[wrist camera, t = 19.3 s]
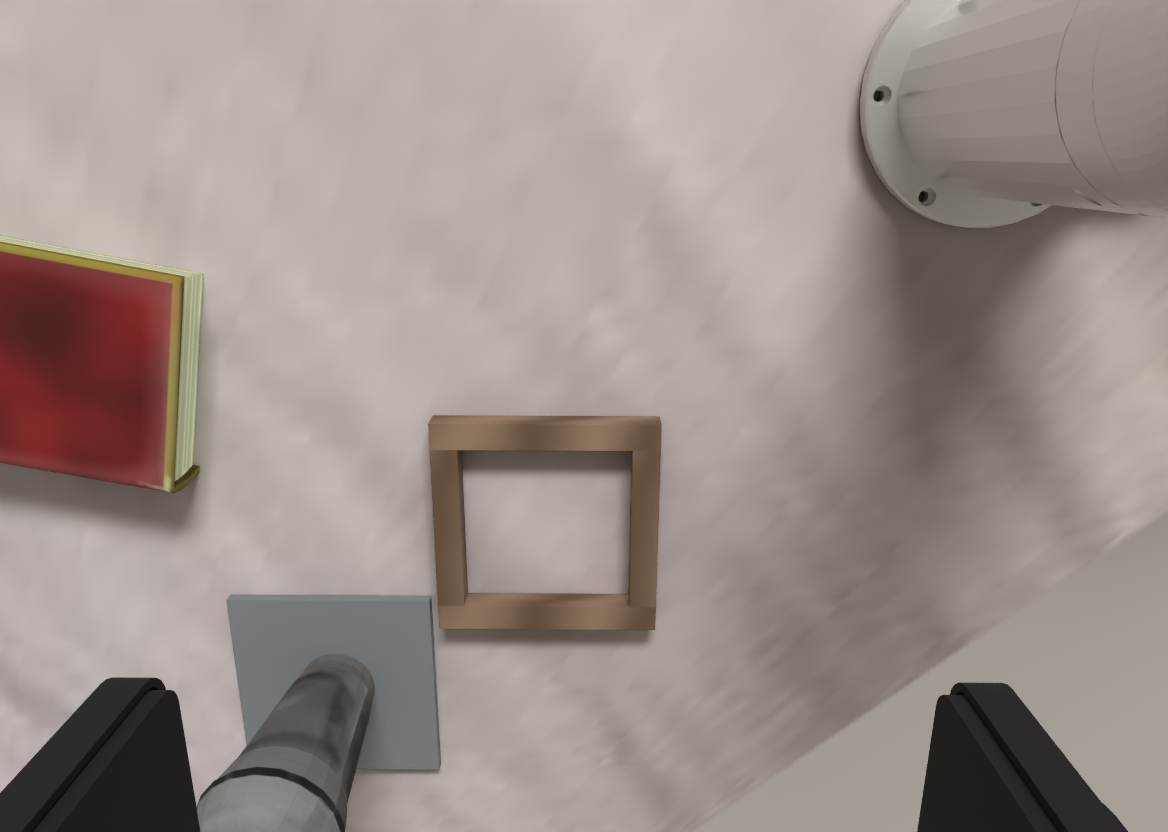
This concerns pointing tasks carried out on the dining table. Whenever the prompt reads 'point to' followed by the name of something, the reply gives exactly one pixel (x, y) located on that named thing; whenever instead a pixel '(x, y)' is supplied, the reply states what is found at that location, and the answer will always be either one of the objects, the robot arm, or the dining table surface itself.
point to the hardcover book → (98, 365)
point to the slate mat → (361, 631)
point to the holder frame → (544, 436)
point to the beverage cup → (298, 757)
